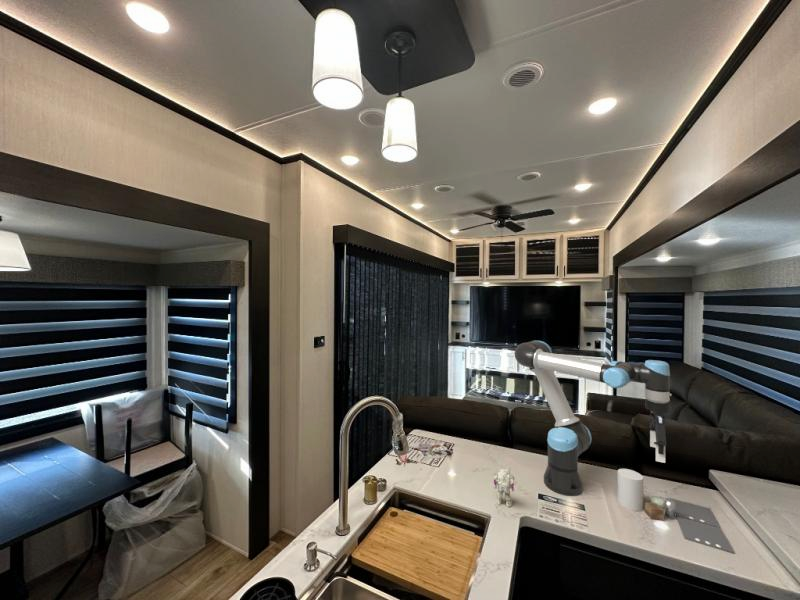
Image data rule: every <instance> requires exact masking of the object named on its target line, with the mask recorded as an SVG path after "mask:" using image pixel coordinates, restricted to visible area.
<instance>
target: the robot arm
mask: <svg viewBox="0 0 800 600" xmlns="http://www.w3.org/2000/svg"><path fill="white" fill-rule="evenodd" d="M552 352H553V351H552V348H551V347H550V345H549V344H547V343H546V341H545V342H544V341H543V340H542V341H541V340H531V341H528V342H527V341H526V342H522V343H520V344H518V345H517V347H516V348H515V350H514V357H515V360H516V362H517V363H518V364H519V365H520V366H524V367H527V368H528V369H529V370H530V372H532V373H534V374H535V376H536V379H537V382H538V383H539V386H540V388H541V391H542V392H543V395H544V396H545V399H546V401H547V404H548V406H549V408H550V410H551V413H552V416H553V417H554V419H555V423H554V427H553V428H551V429H550V430H549V431H548V433H547V439H546V441H547V466H546V469H545V472H544V473H543V484H544V485H545V486H546V487H547V488H548V489H549V490H551V491H553V492H555V493H556V494H560V495H563V496H569V497H570V496H574V497H575V496H579V495H580V494H582V492H583V483H582V479H581V477H580V473H579V469H578V468H579V467H578V466H579V465H578V460H579V456H581V455H582V453H583V452H585V451H587V450H588V449H589V447H591V446H590V445H591V443H592V441H593V439H592V438H593V437H592V434H591V431H590V430H589V428H588V427H587V426H586V425H584V424H583V423H582V421H581V419H580V418H579V417H577V416H576V415H574V411H573V410H572V408H571V406H570V403H569V401H568V399H567V397H566V395H565V393H564V390H563V389H562V386H561V384H560V382H559V380H558V377H557V376H556V373H555V372H557V373H561V374H564V375H570V376H573V377H577V378H582V379H585V380H590V381H595V382H599V383H603V384H606V385H607V386H608V387H610V388H613V389H619V388H624V387H626V386H627V385H628V384H629V383H631V382H635V383H639V384H644V398H645V399H644V407H645V410H647V411H649V412H650V413H649V423H648V426H649V430H650V431H649V446H650V448H651V447H652V448H655V462H658V463H659V462H660V463H664V464H665V463H666V447H667V444H668V443H667V437H666V423H665V421H666V419H665V416H664V414H668V413H670V411H671V408H670V407H671V404H670V401H671V400H670V397H672V395H673V394H672V393H670V390H671V389H670V387H671V384H670V383H671V372H670V365H669V363H668V362H667V361H663V360H658V359H657V360H655V359H654V360H653V359H648V360H645V362H644V364H643V363H642V364H641V363H640V364H639V363H632V362H627V361H625V362H624V361H621V360H619V361H618V360H613V361H611V362H610V364H605V363H601V362H596V361H591V360H586V359H581V358H575V357H572V356H567V355H561V354H557V353H552Z"/></svg>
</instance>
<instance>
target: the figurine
mask: <svg viewBox="0 0 800 600" xmlns="http://www.w3.org/2000/svg"><path fill="white" fill-rule="evenodd" d="M497 470H498V471H494V473H493V483H494V484H493V488H494V489H497V494H496V500H495V502H496V504H497V505H501V504H502V503H503V494H504V498H505V505H506V507H507V508H511V507H512V504H513V500H511V493H513V492H515V487H514V486H515V477H514V475H512V474H511V467H508V468H507V469H506V468H505V469H504V468H502V467H501V466H500V465H498V468H497Z"/></svg>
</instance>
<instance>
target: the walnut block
mask: <svg viewBox="0 0 800 600" xmlns="http://www.w3.org/2000/svg"><path fill="white" fill-rule="evenodd" d="M644 512H645V514H646V515H647V516H648V518H649V519H650V520H652V521H653V520H654V521H660V522H664V520H665V519H664V517H665V509H662V508H661V507H660V506H659V505H658V504H657V503H651V502H647V501H644Z"/></svg>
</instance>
